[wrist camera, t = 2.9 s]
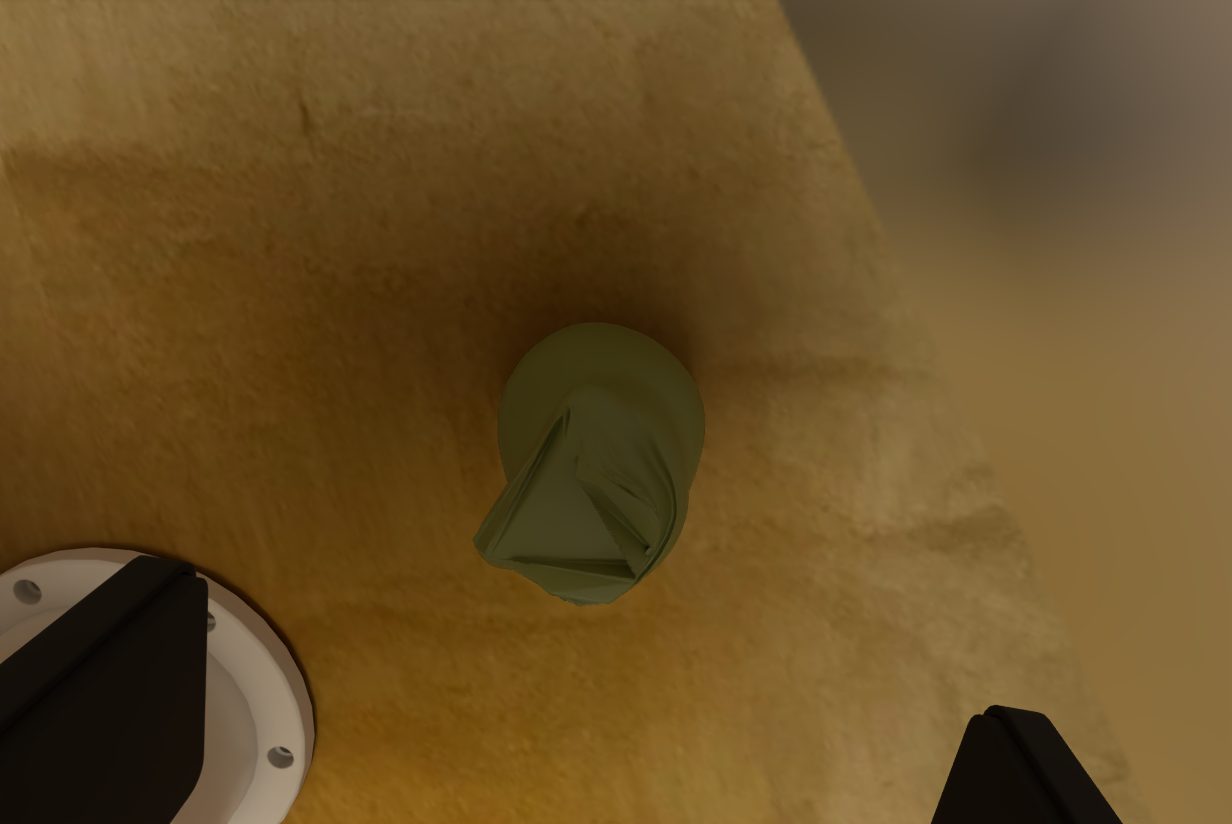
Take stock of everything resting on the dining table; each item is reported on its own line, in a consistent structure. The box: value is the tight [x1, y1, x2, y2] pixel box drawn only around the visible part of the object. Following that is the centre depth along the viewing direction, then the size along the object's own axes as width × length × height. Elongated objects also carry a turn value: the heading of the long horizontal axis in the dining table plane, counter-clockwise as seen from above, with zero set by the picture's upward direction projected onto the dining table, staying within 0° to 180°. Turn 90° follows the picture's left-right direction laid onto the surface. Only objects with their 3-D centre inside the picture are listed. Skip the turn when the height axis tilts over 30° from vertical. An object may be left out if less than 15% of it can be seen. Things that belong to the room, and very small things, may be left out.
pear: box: [473, 322, 705, 606], centre depth 20 cm, size 6×5×10 cm
